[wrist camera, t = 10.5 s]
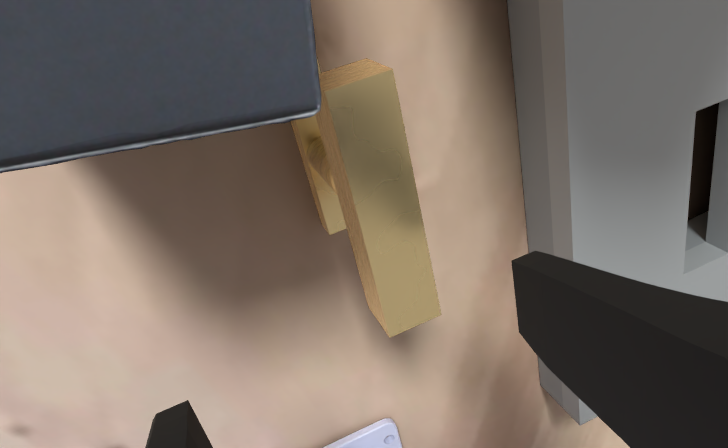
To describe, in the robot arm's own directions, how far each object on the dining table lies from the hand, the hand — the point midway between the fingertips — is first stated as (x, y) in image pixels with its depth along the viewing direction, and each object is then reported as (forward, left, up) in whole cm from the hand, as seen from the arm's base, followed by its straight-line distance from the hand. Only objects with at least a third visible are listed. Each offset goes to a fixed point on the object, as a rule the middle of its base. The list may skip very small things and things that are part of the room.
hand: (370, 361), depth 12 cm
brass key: (+1, -2, -9) cm, 10 cm away
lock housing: (-5, -17, -9) cm, 20 cm away
